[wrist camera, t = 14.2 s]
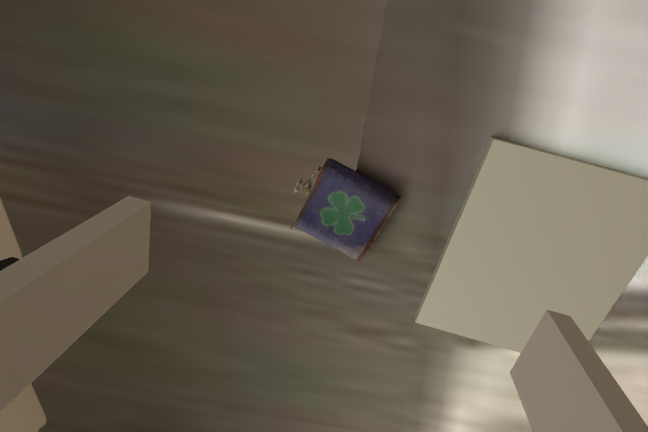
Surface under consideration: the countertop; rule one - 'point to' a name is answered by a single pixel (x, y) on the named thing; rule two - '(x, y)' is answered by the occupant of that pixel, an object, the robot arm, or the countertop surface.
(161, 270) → the countertop surface
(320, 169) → the flask
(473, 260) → the beige flat panel
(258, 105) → the countertop surface
